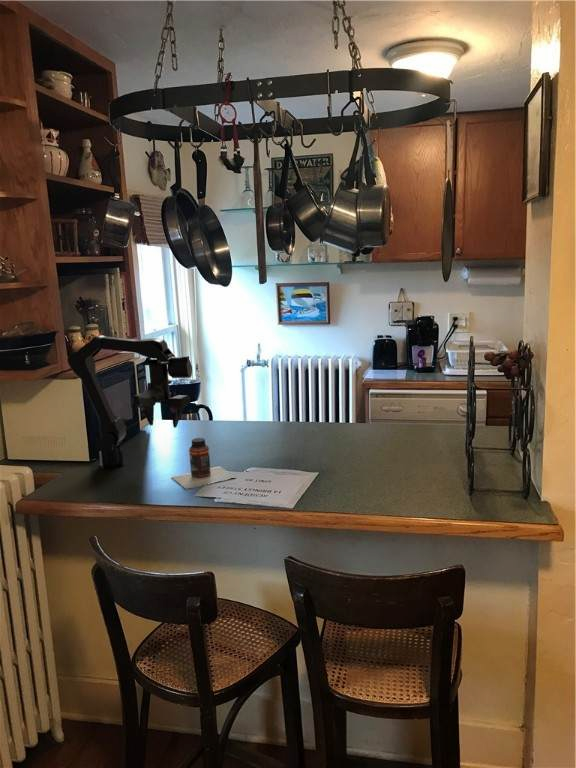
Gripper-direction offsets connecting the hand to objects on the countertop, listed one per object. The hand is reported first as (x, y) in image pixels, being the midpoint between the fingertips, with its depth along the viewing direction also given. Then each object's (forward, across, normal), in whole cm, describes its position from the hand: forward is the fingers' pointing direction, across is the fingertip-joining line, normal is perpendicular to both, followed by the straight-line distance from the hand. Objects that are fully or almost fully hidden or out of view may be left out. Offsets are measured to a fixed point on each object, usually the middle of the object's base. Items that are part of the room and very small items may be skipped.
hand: (163, 426), depth 198 cm
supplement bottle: (+13, +17, -6) cm, 22 cm away
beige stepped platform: (+13, +18, -7) cm, 24 cm away
